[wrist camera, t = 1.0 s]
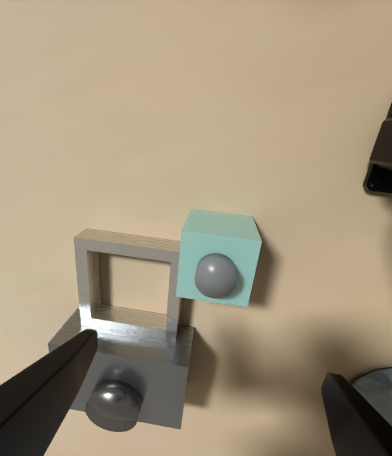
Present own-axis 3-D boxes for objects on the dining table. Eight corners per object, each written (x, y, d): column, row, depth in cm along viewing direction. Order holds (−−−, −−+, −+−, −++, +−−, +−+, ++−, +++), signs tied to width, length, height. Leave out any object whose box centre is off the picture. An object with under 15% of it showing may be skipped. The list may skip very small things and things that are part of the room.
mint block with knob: (252, 216, 20) (265, 249, 14) (242, 270, 21) (249, 319, 16) (191, 208, 20) (178, 238, 14) (185, 262, 22) (172, 307, 16)
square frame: (205, 244, 21) (198, 283, 15) (187, 383, 27) (177, 447, 21) (70, 226, 21) (17, 256, 16) (82, 365, 28) (47, 422, 22)
